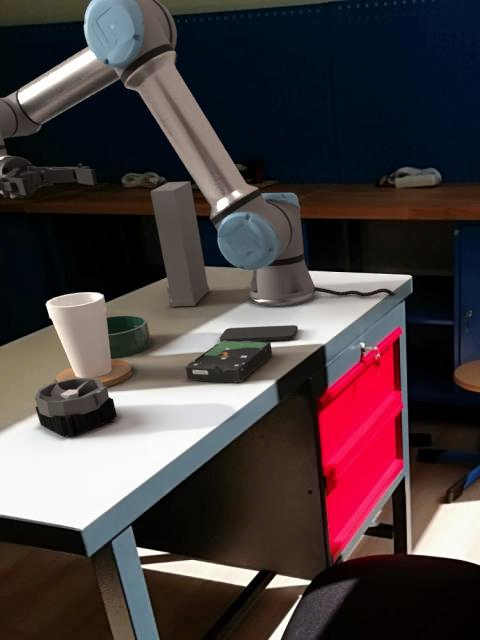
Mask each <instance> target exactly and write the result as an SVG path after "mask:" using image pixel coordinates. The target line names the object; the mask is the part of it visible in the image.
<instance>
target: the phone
mask: <svg viewBox="0 0 480 640" xmlns="http://www.w3.org/2000/svg"><path fill="white" fill-rule="evenodd" d="M298 331H299V326H298V325H295V324H290V325H289V324H287V325H265V326H263V325H262V326H245V327H244V326H243V327H229V328H225V330H224V331H223V332H222V333H221V335H220V336H219V343H220V342H223V341H224V340H227V341H235V342H245V341H252V342H253V341H256V342H268V341H285V340H286V341H287V340H293V339H294V338H295V337H296V335H297V333H298Z"/></svg>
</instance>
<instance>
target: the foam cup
mask: <svg viewBox="0 0 480 640" xmlns="http://www.w3.org/2000/svg"><path fill="white" fill-rule="evenodd" d="M45 306H46V309H47V312H48V316H49V317H48V318H49V319H50V320H51V321H52V323H53V326H54V328H55V331H56V333H57V335H58V338H59V341H60V342H61V345H62V347H63V350H64V352H65V354H66V357H67V359H68V361H69V364H70V367H71V366H72V369H73V371H74V372H75V375H76V376H77V377H80V378H93V377H98V376H102V375H105V374H107V373H109V372H110V371H111V369H112V368H111V360H112V358H111V356H110V347H109V337H108V327H107V318H106V317H107V305H106V300H105V296H104V294H102V293H100V292H90V291H89V292H88V291H87V292H85V291H84V292H75V293H68V294H64V295H60V296H56V297H52V298H51V299H49V300H47V301H46V303H45Z"/></svg>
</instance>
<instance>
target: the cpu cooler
mask: <svg viewBox="0 0 480 640" xmlns="http://www.w3.org/2000/svg"><path fill="white" fill-rule="evenodd" d="M34 400H35V404H36V406H35V407H34V408H35V411H36V414H37V419H38V420H39V424H40V426H41V427H43V428H45V429H47V430H49V431H52V432H53V433H56V434H57V435H59V436H61V437H63V438H65V437H68V436H72V437H74V436H77V435H80V434H82V433H84V432H88V431H90V430H92V429H95V428H98V427H102V426H103V425H107V424H109V423H110V422H113V421H116V418H117V417H118V413H117V410H116V406H115V402H114V398H112V397H110V396H109V391H108V387H107V386H103V384H102V381H101V380H97V379H90V378H76V379H67V380H63V381H59V382H57V381H56V382H51V383H49V384H47V385H45V386H43V387H41V388H39V389H38V391H37V392H36V394H35V396H34Z"/></svg>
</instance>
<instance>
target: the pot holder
mask: <svg viewBox="0 0 480 640" xmlns="http://www.w3.org/2000/svg"><path fill="white" fill-rule="evenodd" d="M111 368H112V369H111V371H110V372H109V373H107V374H105V375H102V376H98V377H93V378H90V379H97V380H101V381H102V384H103V386H107V388H108V387H111V386H114V385H117V384H119V383H121V382H123V381H125V380H127V379H128V378H130V377H131V376H132V374H133V368H132V365H131V363H130V362H128V361H125V360H122V359H111ZM76 378H80V377H77V376H76V375H75V372H74V371H73V369H72V366H71V365H70V366H69V367H67V368H65V369H63V370H61V371H59V372H58V374H57V375H56V377H55V379H56V382H59V381H63V380H67V379H76Z"/></svg>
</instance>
